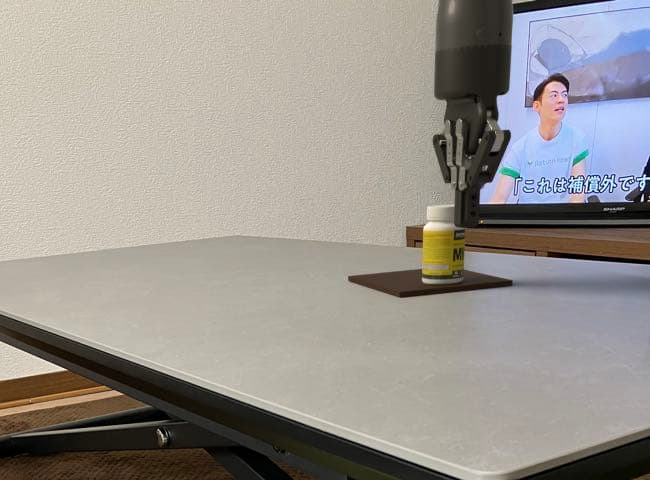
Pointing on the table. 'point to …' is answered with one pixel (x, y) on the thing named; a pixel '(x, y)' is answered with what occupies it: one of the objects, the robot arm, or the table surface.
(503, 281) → the mat
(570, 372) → the table surface
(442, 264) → the supplement bottle
